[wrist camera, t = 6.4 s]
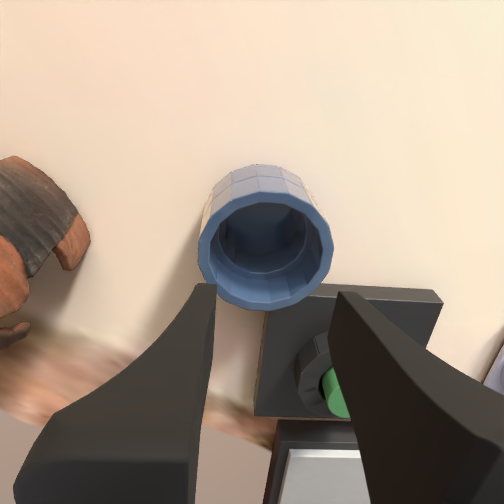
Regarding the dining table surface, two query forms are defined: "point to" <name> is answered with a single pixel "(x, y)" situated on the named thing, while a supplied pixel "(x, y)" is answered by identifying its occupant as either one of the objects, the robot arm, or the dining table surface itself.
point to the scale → (315, 465)
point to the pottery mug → (32, 235)
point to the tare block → (325, 344)
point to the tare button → (334, 394)
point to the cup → (263, 239)
